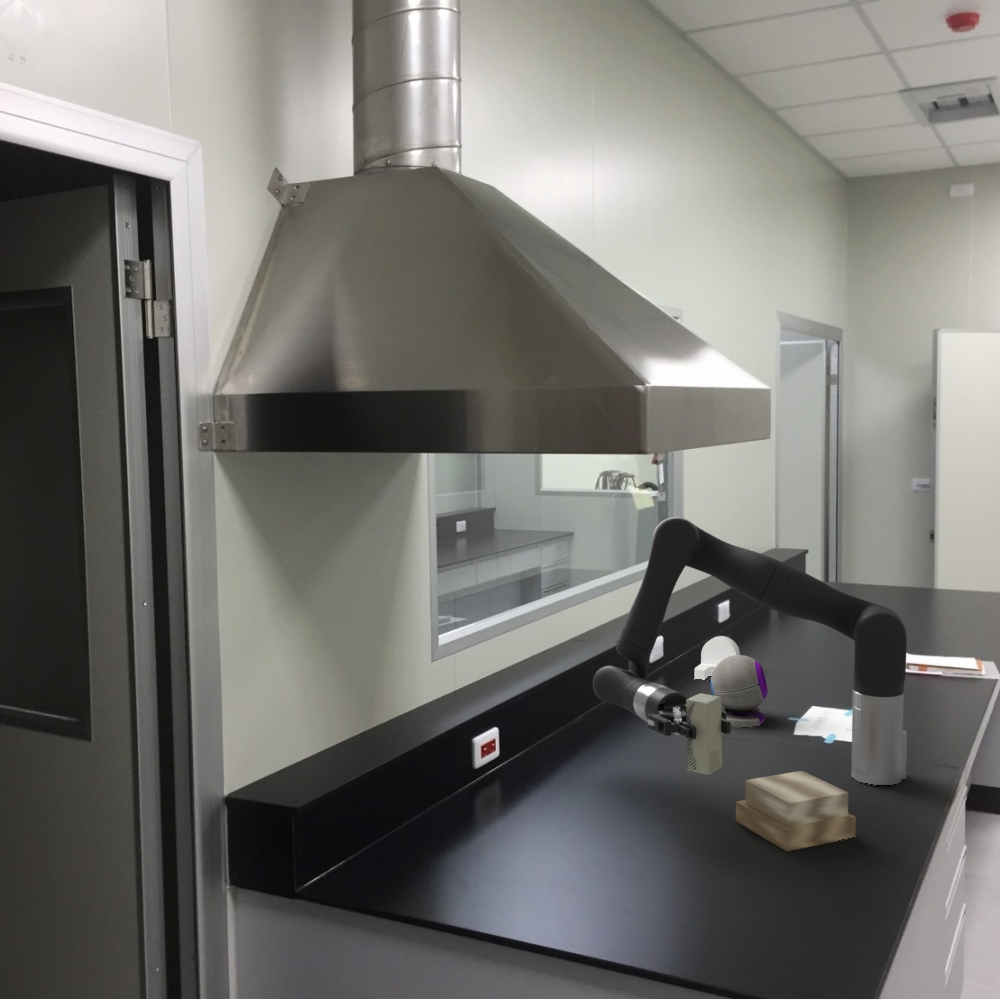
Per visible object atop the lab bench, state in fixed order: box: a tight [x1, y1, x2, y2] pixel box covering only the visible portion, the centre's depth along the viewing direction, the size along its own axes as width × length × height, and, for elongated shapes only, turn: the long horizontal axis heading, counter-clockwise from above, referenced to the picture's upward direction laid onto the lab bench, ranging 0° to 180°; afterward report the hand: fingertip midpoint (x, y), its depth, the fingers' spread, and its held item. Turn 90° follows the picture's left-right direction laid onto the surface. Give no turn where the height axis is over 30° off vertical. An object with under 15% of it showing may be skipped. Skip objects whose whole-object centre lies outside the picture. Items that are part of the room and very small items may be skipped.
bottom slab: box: [735, 799, 857, 852], centre depth 181 cm, size 14×14×4 cm
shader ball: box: [710, 654, 769, 728], centre depth 244 cm, size 13×13×15 cm
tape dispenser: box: [694, 635, 741, 680], centre depth 285 cm, size 10×18×11 cm, turn 153°
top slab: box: [744, 770, 849, 827], centre depth 180 cm, size 12×12×4 cm
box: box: [686, 693, 723, 776], centre depth 184 cm, size 5×4×13 cm
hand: (711, 731), depth 182 cm, fingers closed on box, 6 cm apart
